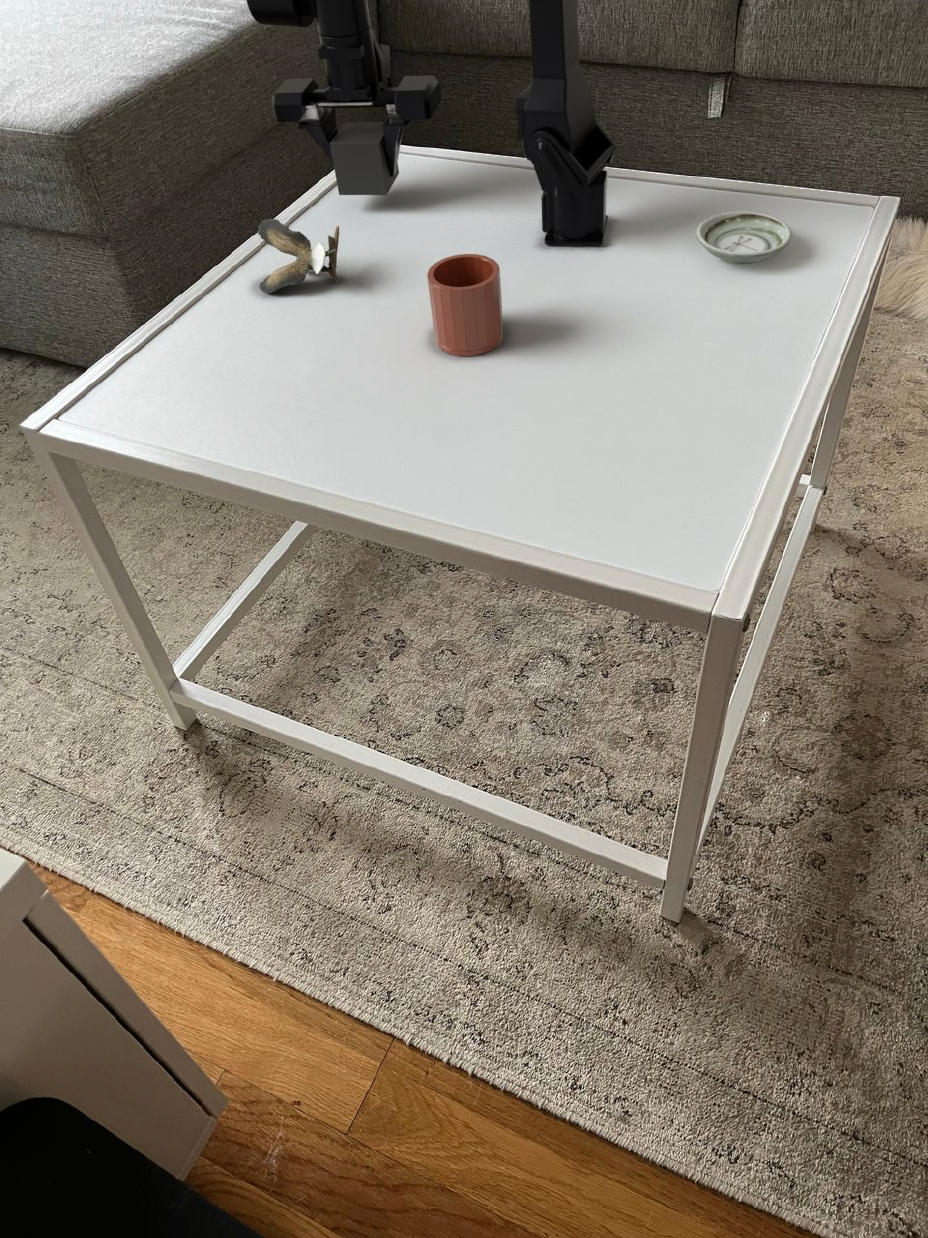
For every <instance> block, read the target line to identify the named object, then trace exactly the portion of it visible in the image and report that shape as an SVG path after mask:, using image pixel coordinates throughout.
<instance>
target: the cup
mask: <svg viewBox="0 0 928 1238" xmlns="http://www.w3.org/2000/svg"><path fill="white" fill-rule="evenodd" d="M426 276H427V285H428V292H429V302H430V309H431V317H432V325H433V333H434V340H435V345H436V346H437V347H438V349H439V350H441V351H442V352H444V353H445V354H448V355H451V356H455V357H475V356H479V355H483V354H486V353H488V352H490V351H492V350H494V349H496V348H497V347H498V346H499V345H500V344H501V343H502V341H503V339H504V317H503V302H502V300H503V299H502V285H501V270H500V266H499V264H498V263H497V262H496V260H494V259H493V258H491V257H489V256H486V255H483V254H479V253H478V254H477V253H462V254H455V255H450V256H447V257H444V258H441V259H440V260H437V261H435V263H434V264H433V265H431V266H430V267H429V269H428V271H427V273H426Z"/></svg>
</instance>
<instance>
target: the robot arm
mask: <svg viewBox="0 0 928 1238" xmlns="http://www.w3.org/2000/svg"><path fill="white" fill-rule="evenodd" d="M368 3H369V2H368V0H246V4H247V7H248V10H249V12H250V14H251V16H252V17H253V19H254V21H255V22H257V23H258V24H260V25H263V26H265V25H266V26H280V27H293V28H295V27H296V28H308V27H310V26H311V25H312V24H313V23H314V21H315V20H316V26H317V31H318V36H319V42H320V43H319V44H320V46H319V47H318V48H317V52H318V53H317V54H318V58H319V60H323V64H324V71H325V76H326V82H327V87H326V88H320V87H319V83H318V81H316V79H315V78H313V77H311V78H286V79H285V80H284V82H283V83H282V84H281V85H280V86H279V87H278V89H277V90H276V91H275V92H274V93H273V95H272V97H271V102H270V106H271V111H272V115H273V119H274V121H275V122H277V123H297V126H298V129H299V130H306V131H307V133H308V134H309V135H310V137H311V138H312V139H313V140H314V141H315V143H316V144H317V145H318V146H319V148H320V149H321V150H322V152H323V154H325V156H326V157H327V159H328V160H329V162H330V163H331V165H332V166H333V167H334V164H333V159H332V154H331V148H330V142H331V141H332V139H333V138H334V136H335V135H336V133H337V132H338V131H339V130H338V128H337V119H336V117H337V116H336V112H337V111H336V109H352V108H353V109H356V108H357V109H359V108H360V109H361V108H366V109H367V108H386V112H387V116H386V118H385V119H384V121H382V122H383V124H382V125H383V133H384V141H385V149H386V157H387V165H388V169H389V172H390V176H391V177H394V175H395V173H396V168H397V162H398V161H399V156H400V149H401V146H402V145H401V144H402V139H403V135H404V131H405V129H406V128H408V127H409V126H410V125H411V123H412V121H427V120H430V119H432V118H433V117H434V115H435V113H436V111H437V109H438V108H439V105H440V104H441V102H442V94H441V93H442V92H441V85H440V82H439V80H438V79H437V78H436V77H435V76H434V75H405V76H404V77H403V78H402V80H401V81H400V83H399V85H398V86H397V87H396V86H395V87H381V86H380V84H384V83H385V81H386V80H387V78H391V76H392V73H391V52H390V51H391V50H390V48H391V47H390V45H385V44H381V43H380V44H379V43H378V41H377V35H376V33H375V29H372V24H371V18H370V11H369V4H368ZM528 14H529V29H530V42H531V43H530V44H531V62H532V78H531V83H530V85H529V86H527V87H526V88H525V89H524V90H523V91H522V92H521V93H519V94H518V95H517V96H516V97H515V98H514V111H515V115H516V120H517V134H516V138H515V141H516V142H517V143H518V142H520V141H521V147H522V149H523V150H522V151H523V154H524V156H525V159H526V160H527V161H530V163H532V165H533V169H534V171H535V174H536V178H537V180H538V183H539V186H540V189H541V191H542V194H541V231H542V232H543V233H545V237H544V245H545V246H583V247H584V246H585V247H589V246H590V247H591V246H592V247H599V246H602V245H604V240H605V237H606V231H607V228H608V222H609V215H607V194H608V193H607V192H608V191H607V190H608V171H607V170H605V169H606V167H608V166H609V165H610V164H611V163H612V160H613V158H614V155H615V152H616V151H617V144H616V143H615V142H614V140H613V139H612V138H611V137H610V136H609V134H608V133H607V132H606V131H605V129H604V128H603V127H602V126H601V124H600V123H599V122H598V121H597V120H596V113H595V108H594V101H593V96H592V91H591V87H590V84H589V82H588V79H587V78H586V76H585V75H584V72H583V70H582V67H581V65H580V56H579V53H580V51H579V27H578V26H579V21H578V0H528ZM398 163H399V162H398Z"/></svg>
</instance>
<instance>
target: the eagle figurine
mask: <svg viewBox="0 0 928 1238" xmlns="http://www.w3.org/2000/svg"><path fill="white" fill-rule="evenodd" d="M257 228H258V231H257V235H259V237H260V239H261V240H263V241H264V243H265V244H267V245H269V246H271V247H272V248H274V249H276V250H278V251H279V252H281V253H283V254H287V255H290V256H294V257H296V260H294V261H292V262H291V263H289V264H287V265H284V266H280V267H278V268H277V269H275V270H273V272H271V274H269V275H268V276H267V277H266V278H263V281H261V282H259V285H258V288H259V290H260V291H262V293H265V294H270V293H273V292H277V290H280V289H282V288H284V287H287V286H289V285H291V286H294V285H295V286H296V285H298V284H299V283H301V282H303V281H304V280H305V279H306V278H307V274H308V273H309V272H310V271H313V272H314V273H315V274H316V275H319V273H320V272H322V273H328V274H329V276H330V277H331V279H332V280H333V281H335V282H336V283H337V282H338V274H337V268H338V266H337V263H338V262H337V261H338V249H339V238H340V226H339V225H337V226H336V227H335V231H334V234H333V236H331V235H327V245H328V249H327V250H326V248H325V246H324V244H323V243H322V242H318V243H317V245H315V247H314V248H313V249H312V243H311V240H310V239H308V237H307V236H305V235H304V234H303V233H302V232H301V231H295V230H292V229H290V228H289V226H286V225H285V224H283V223H281V222H280V220H279V219H276V218H267V219H264V220H263V219H262V220H261V222H260V223H259V226H257ZM327 257H328V266H326V265H325V260H326V258H327Z"/></svg>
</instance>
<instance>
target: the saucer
mask: <svg viewBox="0 0 928 1238" xmlns="http://www.w3.org/2000/svg"><path fill="white" fill-rule="evenodd" d="M695 234H696V239H697V241H698V243H699V244H700V245H701V246H702V247H703V248H704V249H705V250H706V251H707V252H708V253H709V254H711V255H713V256H714V257H716V258H718V259H720V260H721V261H723V262H726V263H728V264H734V265H749V264H754V263H757V262H759V261H763V260H766V259H769V258H770V257H771V258H772V257H773V256H774V255H776V254H778V253H779V252H781V251H782V250H784V249H785V248H787V246H788V245H789V244H790V242H791V240H792V237H793V236H792V229H791V228H790V227H789V225H788V224H787V223H786V222H785V221H783V220H782V219H780V218H778V217H776V216H774V215H771V214H768V213H763V212H758V211H749V210H748V211H747V210H740V211H739V210H738V211H736V210H735V211H727V212H722V213H718V214H715V215H712V216H710V217H707V218H706V219H704V220H703V221H702V222H701V223H700V224H699V225H698V226H697V228H696V233H695Z"/></svg>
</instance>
